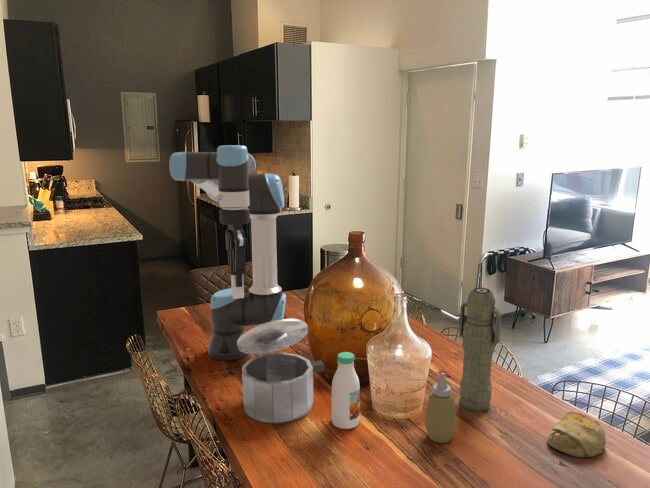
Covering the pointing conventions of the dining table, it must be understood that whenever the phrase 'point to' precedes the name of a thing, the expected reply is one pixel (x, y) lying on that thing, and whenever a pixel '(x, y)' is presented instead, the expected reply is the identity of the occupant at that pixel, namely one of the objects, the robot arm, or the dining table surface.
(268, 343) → the lid
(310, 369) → the pot
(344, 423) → the milk bottle
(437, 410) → the squeeze bottle
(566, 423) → the pastry
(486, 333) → the thermos
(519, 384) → the dining table surface
